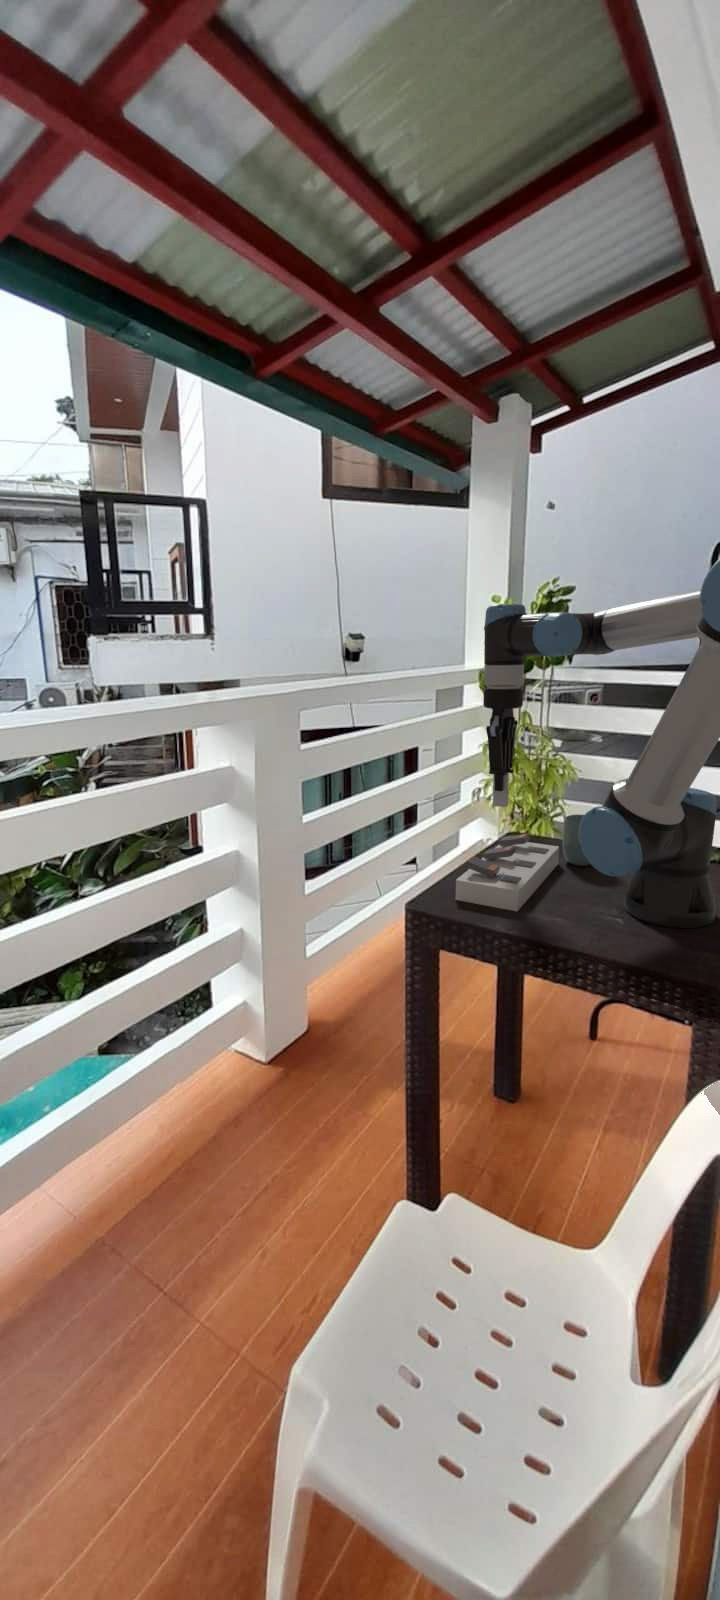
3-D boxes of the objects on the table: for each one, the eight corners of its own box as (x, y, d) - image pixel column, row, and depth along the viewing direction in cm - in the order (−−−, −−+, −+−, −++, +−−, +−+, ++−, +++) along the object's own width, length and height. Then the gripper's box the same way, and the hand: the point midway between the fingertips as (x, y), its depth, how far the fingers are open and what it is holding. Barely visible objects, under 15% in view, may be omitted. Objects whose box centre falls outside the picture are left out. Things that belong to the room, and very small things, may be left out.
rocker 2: (516, 851, 143) (514, 845, 143) (510, 856, 140) (509, 850, 140) (490, 854, 146) (488, 848, 146) (484, 859, 143) (483, 853, 142)
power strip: (567, 853, 160) (568, 835, 159) (517, 911, 127) (518, 889, 126) (516, 845, 166) (517, 828, 165) (455, 899, 133) (456, 878, 132)
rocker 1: (498, 872, 135) (500, 866, 134) (492, 878, 132) (494, 872, 131) (472, 861, 137) (474, 855, 137) (465, 867, 134) (467, 860, 134)
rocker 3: (529, 839, 151) (528, 833, 151) (525, 843, 148) (523, 837, 148) (505, 841, 154) (504, 835, 154) (500, 846, 151) (498, 840, 151)
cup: (586, 871, 148) (590, 826, 146) (554, 862, 154) (557, 818, 151) (605, 863, 153) (609, 819, 151) (573, 855, 159) (576, 812, 156)
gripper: (494, 684, 143) (492, 797, 148) (473, 689, 132) (471, 810, 137) (531, 685, 139) (527, 800, 144) (512, 689, 128) (509, 814, 133)
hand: (500, 805), depth 140 cm, fingers closed
